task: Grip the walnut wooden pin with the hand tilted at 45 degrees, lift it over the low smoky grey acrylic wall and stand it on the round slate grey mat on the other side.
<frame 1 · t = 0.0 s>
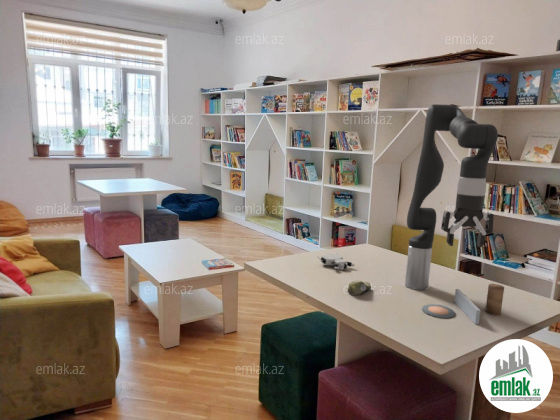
hand: (464, 246, 128), 29 cm above the table, tool pointing down, fingers open, 8 cm apart
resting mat: (438, 311, 152), on the table
rock: (359, 292, 169), on the table
robot toy: (335, 267, 201), on the table
acrylic wall: (465, 312, 153), on the table
walnut pin: (492, 312, 153), on the table
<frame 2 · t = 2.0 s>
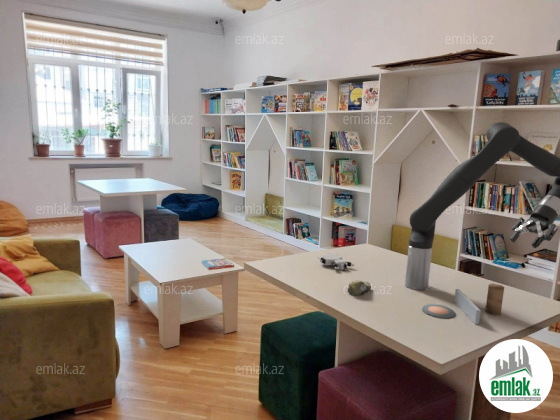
hand: (522, 243, 153), 25 cm above the table, tool tilted 45°, fingers open, 8 cm apart
nothing on the table moved.
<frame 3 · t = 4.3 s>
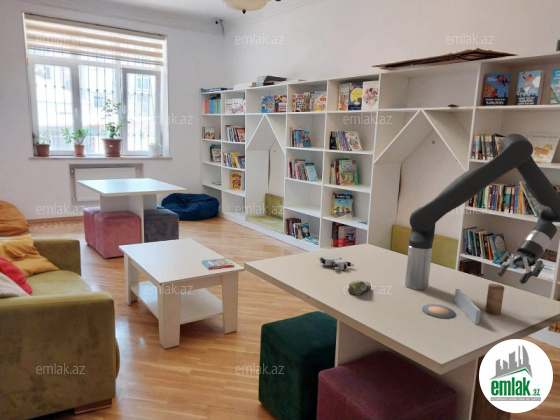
hand: (510, 279, 154), 12 cm above the table, tool tilted 45°, fingers open, 8 cm apart
nothing on the table moved.
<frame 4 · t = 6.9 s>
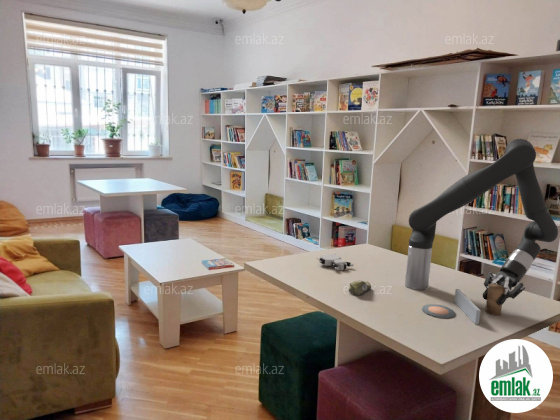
hand: (491, 301, 152), 5 cm above the table, tool tilted 45°, fingers closed on walnut pin, 5 cm apart
walnut pin: (493, 312, 153), on the table, touching gripper
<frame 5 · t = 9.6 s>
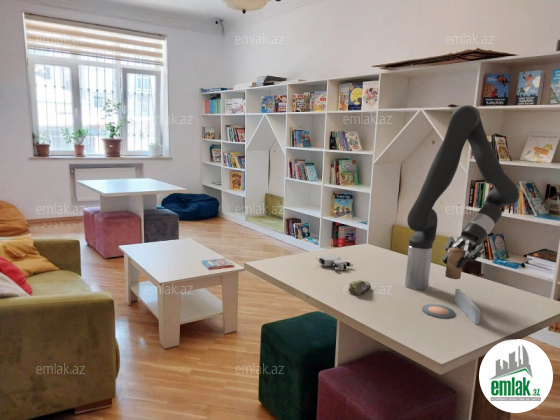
hand: (450, 264, 149), 18 cm above the table, tool tilted 45°, fingers closed on walnut pin, 5 cm apart
walnut pin: (452, 276, 150), point 13 cm above the table, touching gripper
when the fingers open (7 cm above the table, at t = 12.6 s): walnut pin drops 1 cm, resting on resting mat.
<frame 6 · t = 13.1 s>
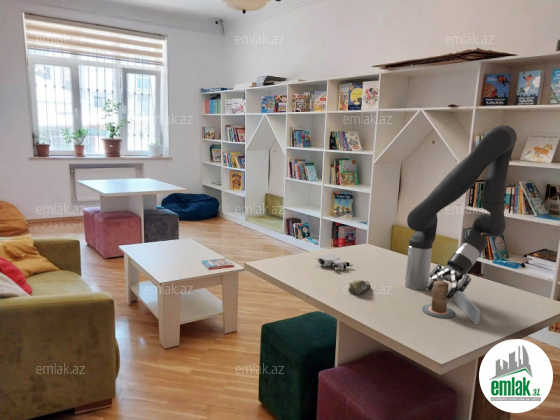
hand: (437, 293, 150), 7 cm above the table, tool tilted 45°, fingers open, 8 cm apart
walnut pin: (438, 310, 152), point 1 cm above the table, touching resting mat
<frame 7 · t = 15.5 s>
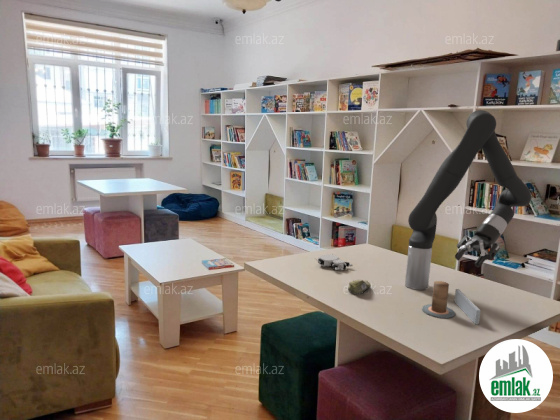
hand: (466, 262, 154), 17 cm above the table, tool tilted 45°, fingers open, 8 cm apart
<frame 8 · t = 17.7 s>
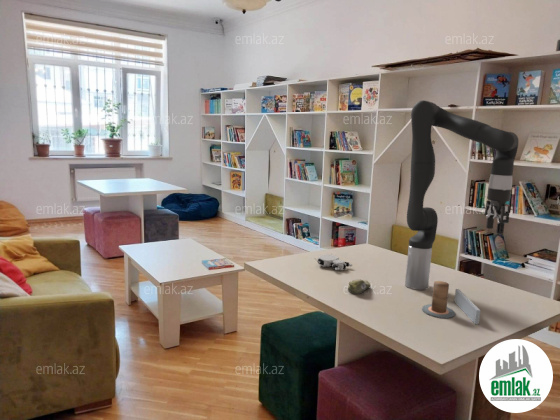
hand: (494, 231, 157), 28 cm above the table, tool pointing down, fingers open, 8 cm apart
at the end: walnut pin 0.1 cm off-centre on the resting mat, point 0.6 cm above the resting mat's base; walnut pin tilted 0°; the gripper is holding nothing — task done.
